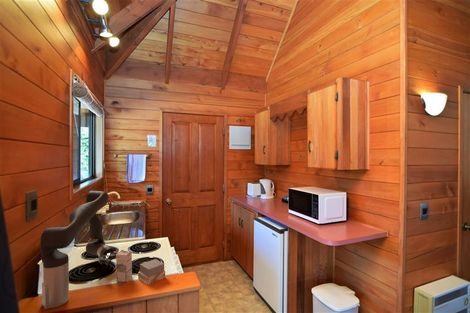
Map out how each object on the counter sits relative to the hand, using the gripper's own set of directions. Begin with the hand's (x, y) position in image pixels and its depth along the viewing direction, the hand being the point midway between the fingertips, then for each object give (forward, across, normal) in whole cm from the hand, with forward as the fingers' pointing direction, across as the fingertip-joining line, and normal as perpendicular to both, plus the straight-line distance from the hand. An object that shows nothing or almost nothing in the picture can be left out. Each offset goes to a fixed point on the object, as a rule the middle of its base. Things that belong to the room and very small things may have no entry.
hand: (118, 260), depth 134 cm
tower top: (+16, +10, +5) cm, 20 cm away
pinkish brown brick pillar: (+6, 0, +9) cm, 11 cm away
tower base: (+16, +10, +9) cm, 21 cm away
